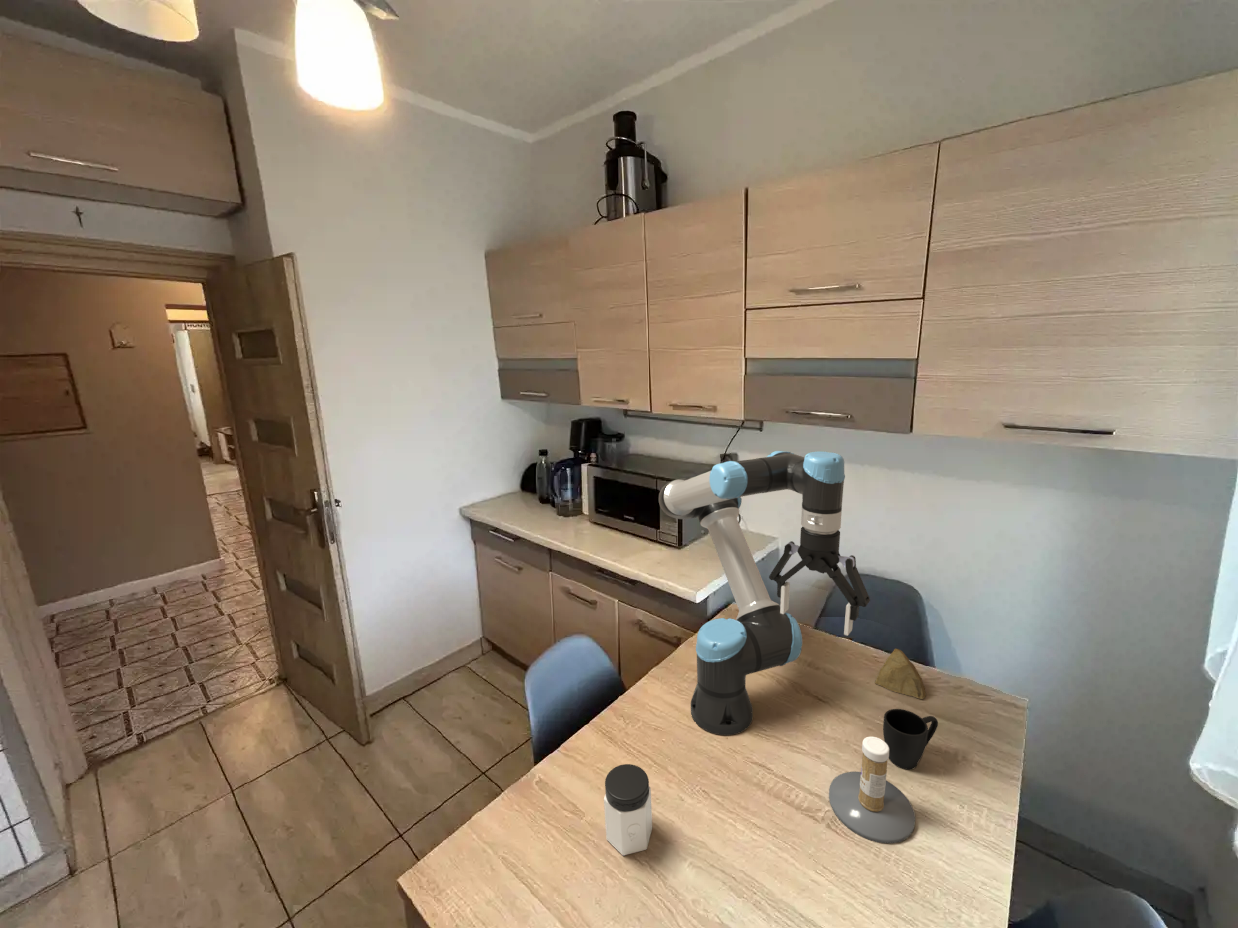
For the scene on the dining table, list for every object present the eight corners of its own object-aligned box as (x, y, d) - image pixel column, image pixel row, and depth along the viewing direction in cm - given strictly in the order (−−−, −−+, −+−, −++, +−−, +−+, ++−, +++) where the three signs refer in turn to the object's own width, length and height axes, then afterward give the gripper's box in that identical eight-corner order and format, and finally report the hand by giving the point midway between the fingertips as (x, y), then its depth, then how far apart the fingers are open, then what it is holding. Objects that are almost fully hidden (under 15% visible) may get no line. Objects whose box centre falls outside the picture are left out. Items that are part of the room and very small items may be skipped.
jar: (611, 860, 91) (607, 805, 88) (602, 820, 99) (598, 769, 96) (658, 847, 93) (656, 793, 90) (646, 809, 100) (644, 758, 98)
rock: (939, 689, 127) (908, 661, 136) (928, 671, 124) (897, 645, 133) (906, 716, 127) (877, 687, 136) (895, 700, 124) (865, 671, 133)
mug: (949, 766, 107) (953, 728, 105) (899, 778, 105) (902, 739, 103) (919, 738, 115) (923, 702, 113) (872, 748, 113) (875, 711, 111)
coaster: (817, 811, 98) (817, 807, 98) (843, 763, 109) (843, 759, 109) (903, 859, 88) (903, 855, 88) (922, 801, 99) (923, 797, 99)
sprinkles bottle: (855, 791, 101) (860, 733, 98) (880, 794, 100) (885, 736, 97) (861, 811, 97) (865, 751, 94) (887, 815, 96) (892, 755, 93)
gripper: (755, 521, 108) (753, 609, 114) (881, 548, 92) (872, 650, 97) (770, 511, 114) (767, 596, 119) (892, 535, 98) (883, 633, 103)
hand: (814, 621), depth 108 cm, fingers open, 13 cm apart
